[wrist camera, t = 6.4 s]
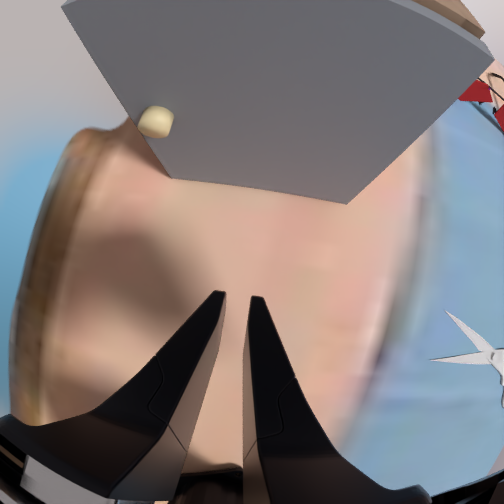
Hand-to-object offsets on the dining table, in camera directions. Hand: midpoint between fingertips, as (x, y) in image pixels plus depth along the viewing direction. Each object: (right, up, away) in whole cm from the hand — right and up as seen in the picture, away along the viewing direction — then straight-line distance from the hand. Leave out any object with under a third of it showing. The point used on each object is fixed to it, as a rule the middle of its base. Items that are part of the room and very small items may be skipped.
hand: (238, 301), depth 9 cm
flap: (+1, +6, +8) cm, 10 cm away
